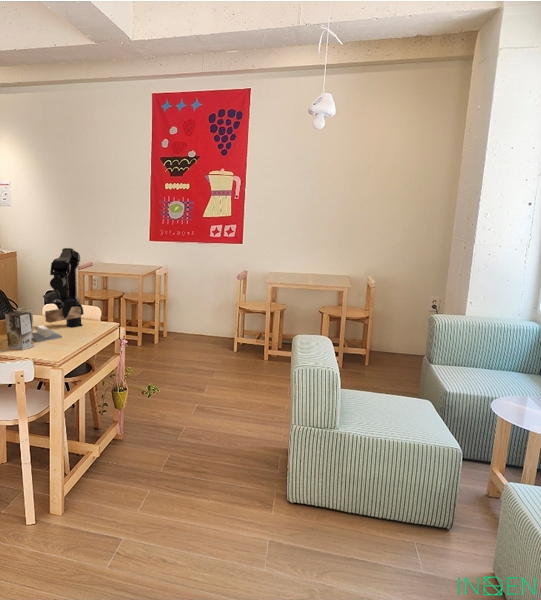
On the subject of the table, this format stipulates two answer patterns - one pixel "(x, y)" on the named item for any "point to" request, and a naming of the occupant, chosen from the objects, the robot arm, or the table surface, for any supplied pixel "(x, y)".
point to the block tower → (27, 309)
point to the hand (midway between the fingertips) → (63, 317)
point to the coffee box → (19, 330)
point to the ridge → (44, 334)
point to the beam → (58, 314)
